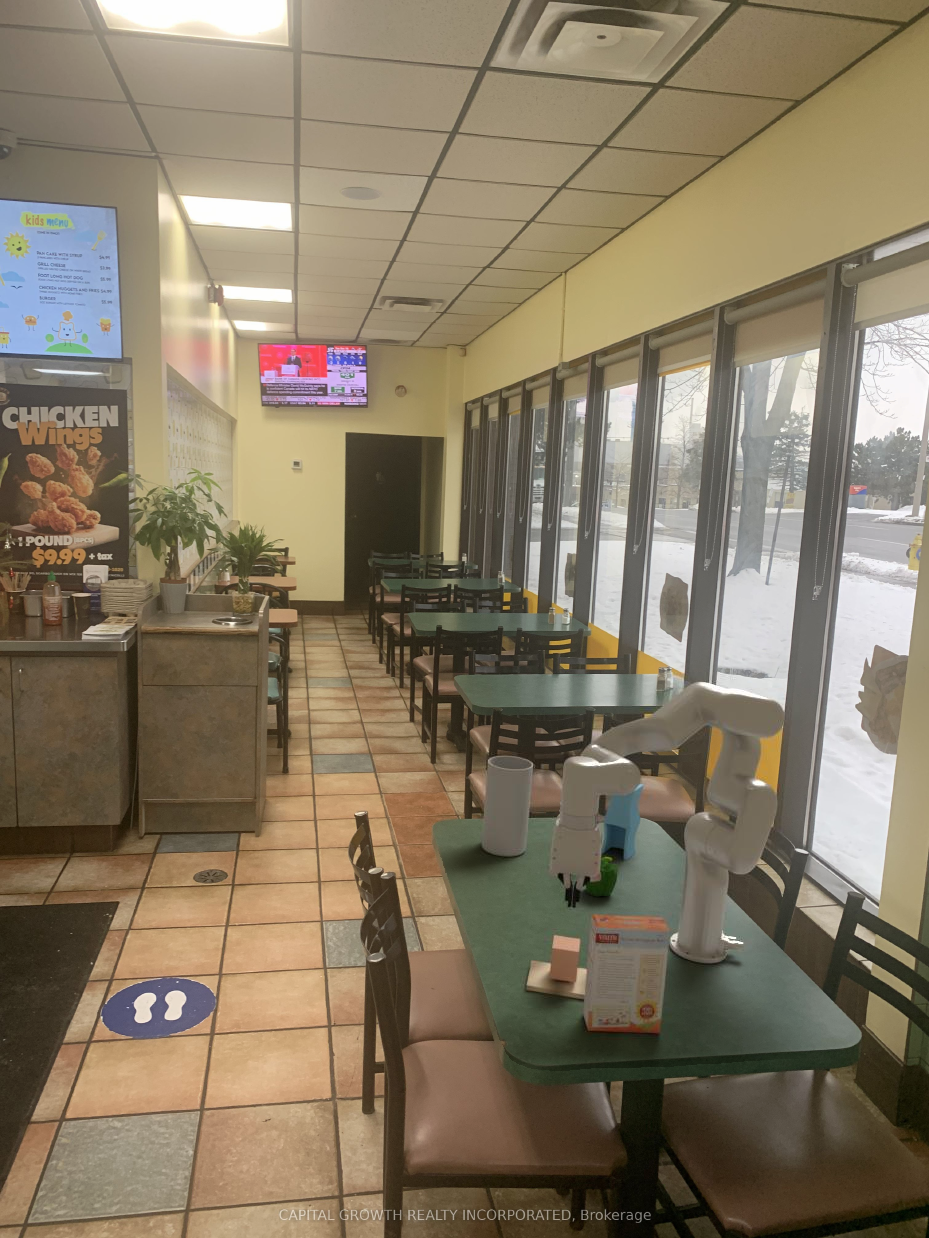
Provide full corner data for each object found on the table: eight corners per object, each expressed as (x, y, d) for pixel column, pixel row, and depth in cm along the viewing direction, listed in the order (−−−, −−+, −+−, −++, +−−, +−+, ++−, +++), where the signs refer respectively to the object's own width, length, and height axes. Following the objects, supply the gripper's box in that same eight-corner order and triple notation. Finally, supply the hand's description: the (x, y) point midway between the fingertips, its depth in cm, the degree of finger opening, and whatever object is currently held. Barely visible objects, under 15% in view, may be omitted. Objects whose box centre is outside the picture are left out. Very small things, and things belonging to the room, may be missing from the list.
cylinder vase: (505, 836, 260) (511, 753, 256) (534, 851, 250) (542, 765, 246) (472, 845, 252) (478, 759, 248) (501, 861, 242) (509, 772, 238)
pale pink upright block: (577, 968, 186) (580, 938, 185) (576, 982, 181) (579, 951, 180) (551, 964, 187) (554, 935, 186) (549, 978, 181) (552, 947, 180)
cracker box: (652, 1016, 174) (663, 915, 171) (660, 1035, 168) (672, 931, 165) (581, 1012, 174) (591, 911, 171) (586, 1031, 168) (597, 927, 165)
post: (597, 975, 188) (601, 939, 186) (596, 1001, 178) (599, 963, 177) (531, 964, 190) (534, 929, 189) (526, 989, 180) (529, 952, 179)
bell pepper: (574, 890, 227) (578, 853, 226) (595, 883, 233) (599, 846, 231) (600, 903, 221) (604, 865, 220) (621, 895, 227) (625, 858, 225)
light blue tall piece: (636, 851, 256) (643, 784, 253) (626, 860, 249) (633, 791, 246) (611, 844, 260) (617, 778, 257) (600, 852, 253) (607, 784, 250)
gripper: (616, 816, 181) (609, 901, 184) (542, 808, 184) (537, 891, 187) (615, 830, 174) (608, 918, 177) (539, 821, 176) (533, 908, 179)
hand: (571, 904), depth 182 cm, fingers closed
